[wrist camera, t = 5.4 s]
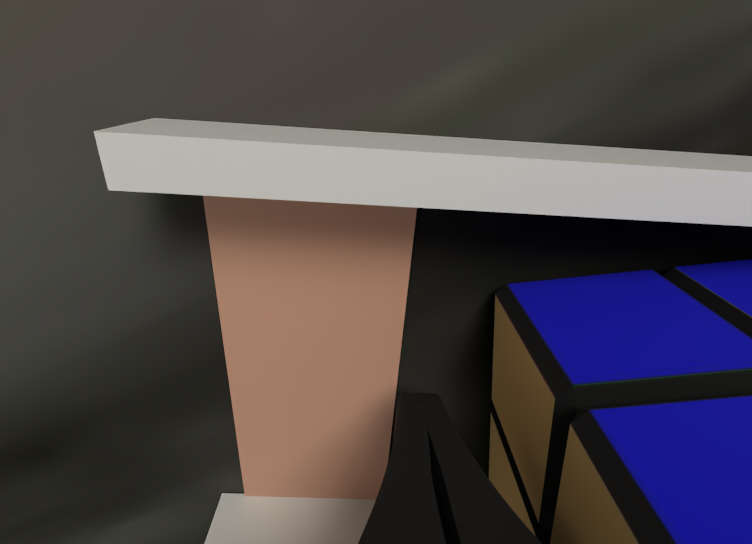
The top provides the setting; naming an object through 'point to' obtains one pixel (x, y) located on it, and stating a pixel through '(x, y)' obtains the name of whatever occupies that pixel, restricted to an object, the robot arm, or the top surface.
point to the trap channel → (360, 277)
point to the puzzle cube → (626, 406)
